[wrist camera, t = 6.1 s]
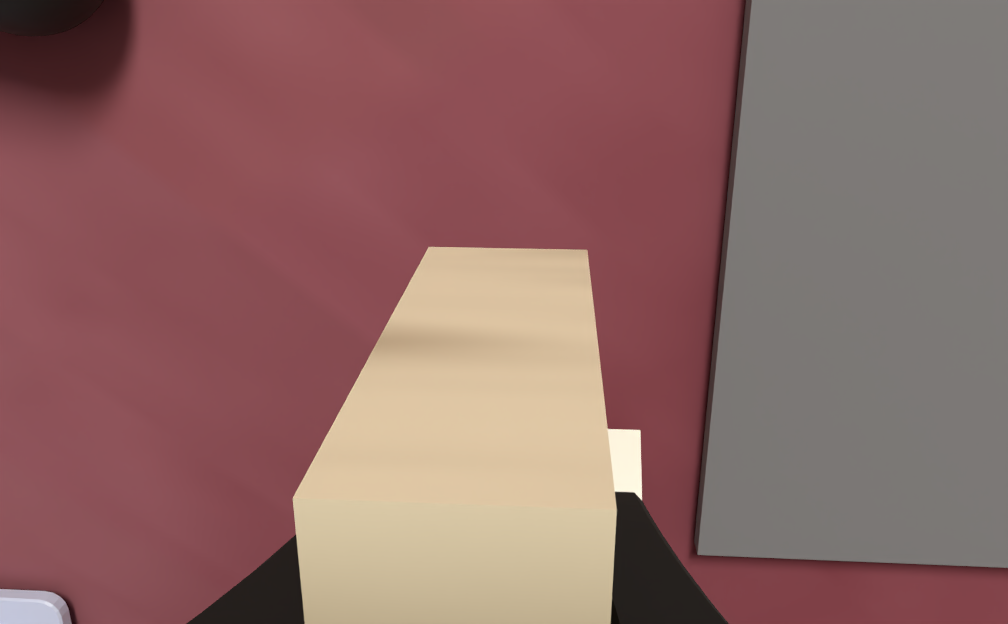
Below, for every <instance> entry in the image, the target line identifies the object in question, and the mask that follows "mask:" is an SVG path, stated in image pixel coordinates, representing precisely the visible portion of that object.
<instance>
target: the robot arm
mask: <svg viewBox="0 0 1008 624" xmlns="http://www.w3.org/2000/svg"><path fill="white" fill-rule="evenodd" d="M615 498H616V507H617V516H616V534H615V552H614V570H613V588H612V606H611V624H728V622H727V621H726V620H725V619H724V618H723V616H722V615H721V614H720V613H719V611H718V610H717V609H716V608H715V607H714V605H713V604H712V603H711V602H710V600H709V599H708V598H707V596H706V595H705V594H704V592H703V591H702V590H701V588H700V587H699V586H698V584H697V583H696V582H695V581H694V579H693V578H692V577H691V575H690V574H689V573H688V571H687V570H686V569H685V567H684V566H683V564H682V563H681V562H680V560H679V559H678V557H677V556H676V554H675V553H674V551H673V550H672V548H671V547H670V546H669V544H668V543H667V541H666V540H665V538H664V537H663V535H662V533H661V532H660V530H659V529H658V527H657V526H656V524H655V522H654V521H653V519H652V517H651V516H650V514H649V512H648V510H647V509H646V507H645V505H644V503H643V501H642V500H641V499H640V498H639V497H638V496H637V495H636V494H635V493H634V492H615ZM0 624H72V623H71V618H70V614H69V609H68V607H67V604H66V602H65V601H64V600H63V599H62V598H61V597H60V596H58V595H57V594H55V593H52V592H47V591H31V590H10V589H0ZM187 624H305V621H304V611H303V600H302V590H301V580H300V569H299V559H298V548H297V538H296V535H295V536H294V537H293V538H291V539H290V540H289V541H288V542H287V543H286V544H285V545H284V546H282V547H281V548H280V549H279V550H278V551H277V552H276V553H274V554H273V555H272V556H271V557H270V558H269V559H268V560H266V561H265V562H264V563H263V564H262V565H261V566H260V567H258V568H257V569H256V570H255V571H254V572H252V573H251V574H250V575H249V576H247V577H246V578H245V579H244V580H242V581H241V582H240V583H238V584H237V585H236V586H235V587H233V588H232V589H231V590H230V591H228V592H227V593H226V594H225V595H223V596H222V597H221V598H220V599H218V600H217V601H216V602H214V603H213V604H212V605H211V606H209V607H208V608H207V609H206V610H204V611H203V612H202V613H200V614H199V615H198V616H196V617H195V618H194V619H192V620H191V621H189V622H188V623H187Z"/></svg>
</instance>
